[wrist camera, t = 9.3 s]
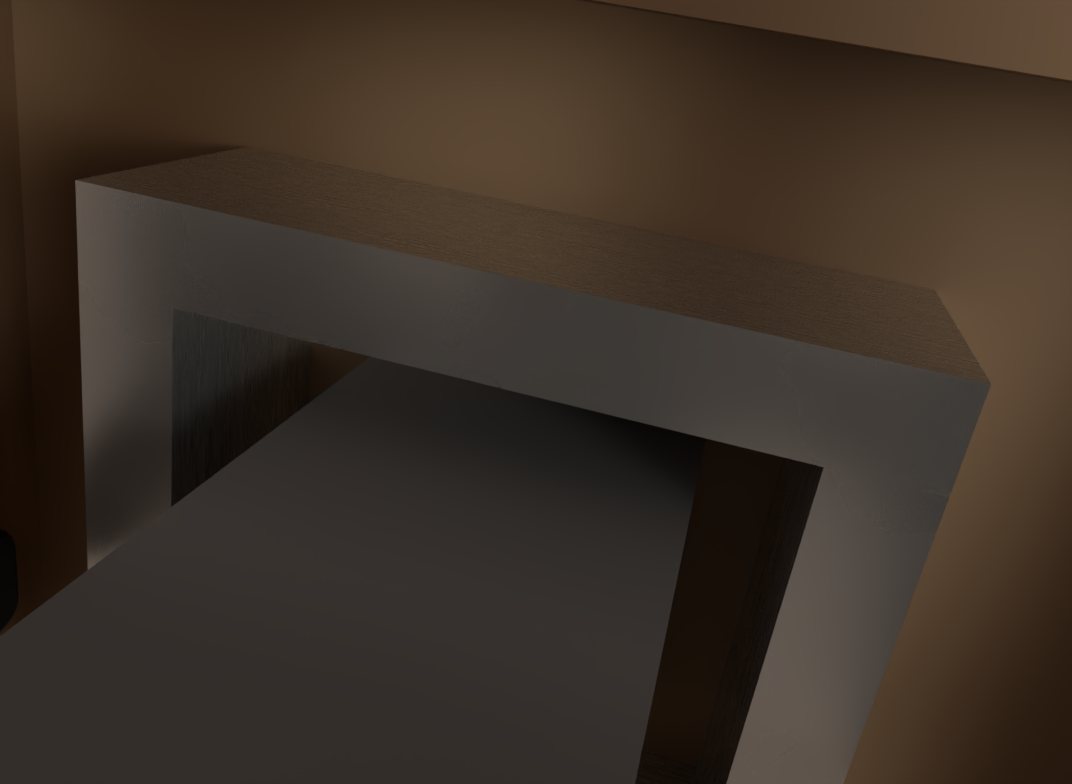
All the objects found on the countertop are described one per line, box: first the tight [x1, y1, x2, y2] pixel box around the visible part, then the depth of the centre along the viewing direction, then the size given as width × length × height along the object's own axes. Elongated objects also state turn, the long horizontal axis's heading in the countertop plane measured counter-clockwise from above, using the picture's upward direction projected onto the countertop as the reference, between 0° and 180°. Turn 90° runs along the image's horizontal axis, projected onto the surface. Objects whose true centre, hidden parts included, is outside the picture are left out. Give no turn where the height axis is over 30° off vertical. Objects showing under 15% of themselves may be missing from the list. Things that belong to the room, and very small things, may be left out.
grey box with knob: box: [0, 357, 706, 784], centre depth 8 cm, size 4×4×9 cm
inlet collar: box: [75, 147, 991, 784], centre depth 11 cm, size 8×8×3 cm
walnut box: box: [0, 0, 1072, 784], centre depth 11 cm, size 18×14×4 cm
